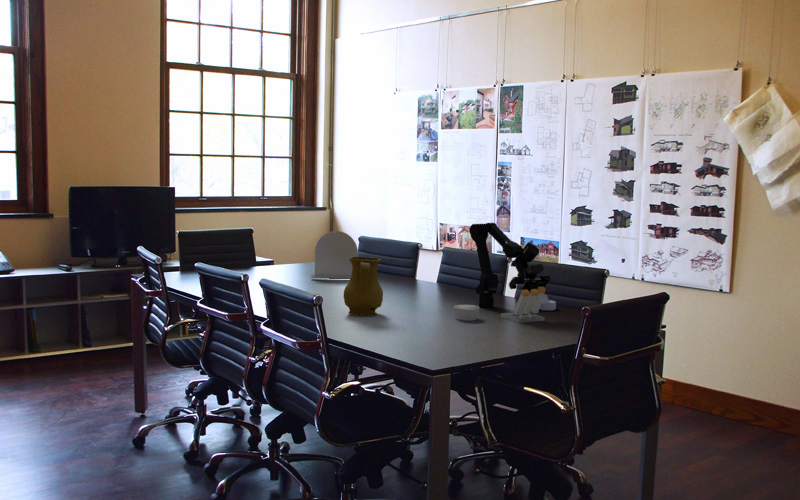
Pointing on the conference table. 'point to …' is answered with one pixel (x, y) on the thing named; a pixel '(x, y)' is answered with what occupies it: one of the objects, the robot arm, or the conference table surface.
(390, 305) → the conference table surface
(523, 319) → the panel
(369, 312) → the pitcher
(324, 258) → the award
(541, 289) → the tripped breaker
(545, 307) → the wedge on round base
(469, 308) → the ramekin
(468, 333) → the conference table surface
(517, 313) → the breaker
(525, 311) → the grey long bar piece
